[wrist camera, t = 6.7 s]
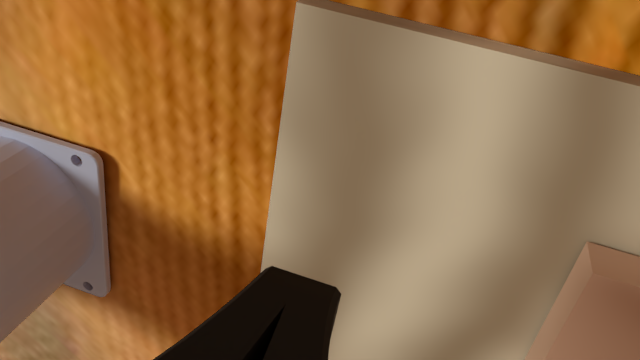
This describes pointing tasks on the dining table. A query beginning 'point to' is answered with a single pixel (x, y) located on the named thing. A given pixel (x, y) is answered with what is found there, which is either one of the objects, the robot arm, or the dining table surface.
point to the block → (594, 310)
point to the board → (444, 181)
